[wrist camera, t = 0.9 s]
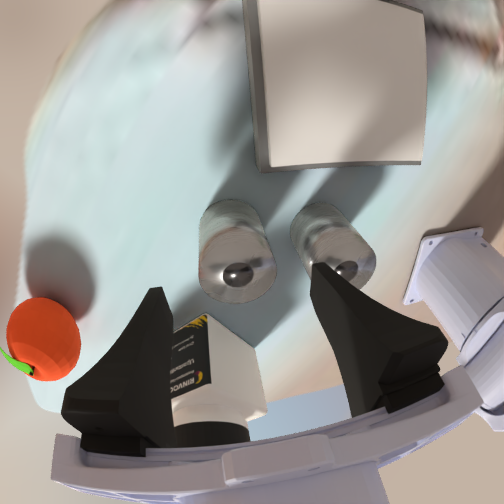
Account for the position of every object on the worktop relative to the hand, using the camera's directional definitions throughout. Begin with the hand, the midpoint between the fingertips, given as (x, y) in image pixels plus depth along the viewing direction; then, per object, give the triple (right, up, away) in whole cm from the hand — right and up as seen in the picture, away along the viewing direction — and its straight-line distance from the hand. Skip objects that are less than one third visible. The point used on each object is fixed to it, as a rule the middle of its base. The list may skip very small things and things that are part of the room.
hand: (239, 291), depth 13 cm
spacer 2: (+5, +4, +6) cm, 9 cm away
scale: (+6, +13, 0) cm, 14 cm away
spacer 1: (-1, +3, +5) cm, 6 cm away
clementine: (-17, -3, +7) cm, 19 cm away
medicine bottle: (-4, -7, +12) cm, 14 cm away
